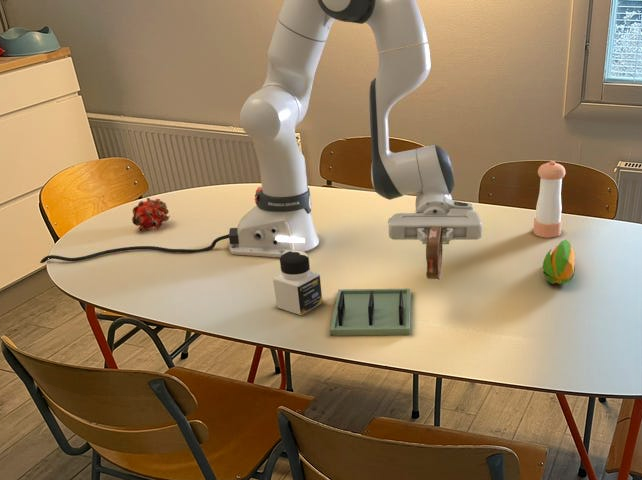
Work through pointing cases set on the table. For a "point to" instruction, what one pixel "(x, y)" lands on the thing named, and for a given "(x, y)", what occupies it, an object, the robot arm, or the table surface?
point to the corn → (559, 263)
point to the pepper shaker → (549, 201)
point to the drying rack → (371, 312)
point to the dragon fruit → (150, 214)
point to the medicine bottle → (297, 284)
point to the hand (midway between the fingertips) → (435, 240)
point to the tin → (434, 252)
